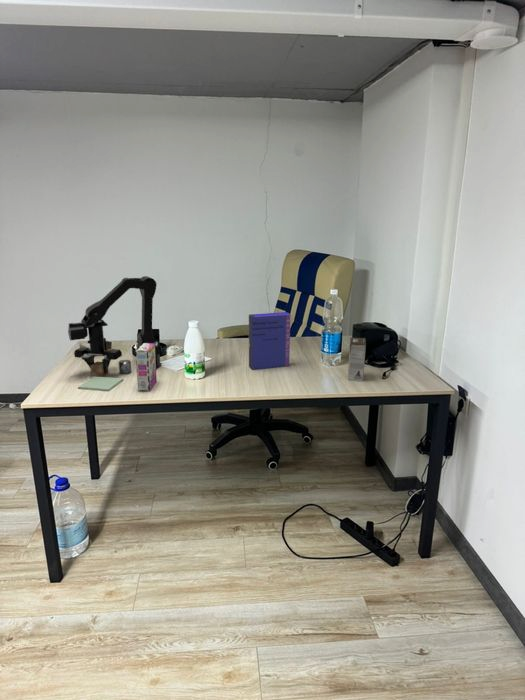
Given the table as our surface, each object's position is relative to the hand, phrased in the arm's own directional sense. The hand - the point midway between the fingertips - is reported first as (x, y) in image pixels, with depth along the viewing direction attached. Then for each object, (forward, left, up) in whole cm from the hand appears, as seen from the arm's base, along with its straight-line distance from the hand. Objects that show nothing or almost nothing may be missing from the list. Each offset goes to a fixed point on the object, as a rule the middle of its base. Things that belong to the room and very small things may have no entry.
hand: (100, 372), depth 198 cm
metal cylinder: (-9, -5, -1) cm, 10 cm away
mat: (-6, +10, -1) cm, 12 cm away
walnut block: (0, 0, -1) cm, 1 cm away
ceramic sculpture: (+17, -26, -1) cm, 31 cm away
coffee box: (-106, -19, -1) cm, 108 cm away
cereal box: (-68, -25, -1) cm, 72 cm away
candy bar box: (-25, +8, -1) cm, 26 cm away
